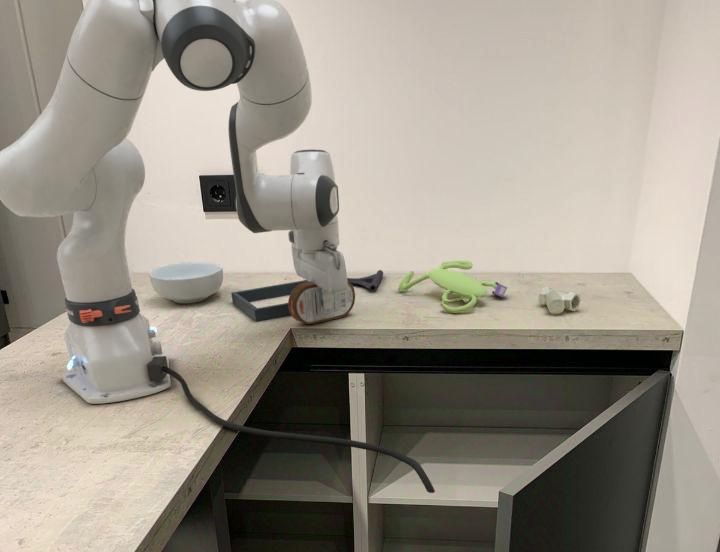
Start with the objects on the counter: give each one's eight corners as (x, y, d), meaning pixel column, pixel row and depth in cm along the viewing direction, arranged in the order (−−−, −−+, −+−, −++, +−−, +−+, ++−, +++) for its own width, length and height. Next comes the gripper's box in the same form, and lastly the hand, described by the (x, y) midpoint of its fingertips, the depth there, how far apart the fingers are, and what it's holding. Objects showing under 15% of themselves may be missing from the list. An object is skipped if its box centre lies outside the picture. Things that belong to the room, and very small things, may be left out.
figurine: (457, 277, 180) (458, 254, 177) (524, 301, 159) (526, 276, 156) (391, 289, 173) (390, 265, 171) (452, 316, 152) (452, 289, 150)
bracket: (325, 277, 187) (324, 266, 185) (383, 276, 185) (382, 265, 183) (314, 293, 174) (313, 281, 173) (376, 292, 172) (376, 280, 171)
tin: (351, 311, 159) (348, 272, 155) (358, 314, 157) (355, 274, 153) (289, 326, 153) (284, 285, 149) (296, 329, 150) (292, 287, 146)
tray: (345, 304, 164) (344, 293, 163) (255, 321, 157) (254, 309, 156) (315, 288, 178) (315, 278, 177) (232, 303, 170) (231, 292, 169)
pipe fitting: (559, 319, 149) (580, 309, 152) (560, 300, 147) (581, 290, 150) (528, 311, 154) (548, 302, 157) (528, 293, 152) (549, 284, 155)
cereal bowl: (174, 313, 165) (168, 282, 162) (142, 300, 176) (137, 270, 173) (239, 297, 174) (235, 267, 171) (205, 286, 185) (201, 257, 182)
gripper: (353, 243, 140) (357, 314, 147) (312, 227, 156) (317, 292, 163) (322, 248, 137) (328, 320, 144) (284, 231, 154) (291, 297, 161)
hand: (322, 305), depth 154 cm, fingers open, 3 cm apart
